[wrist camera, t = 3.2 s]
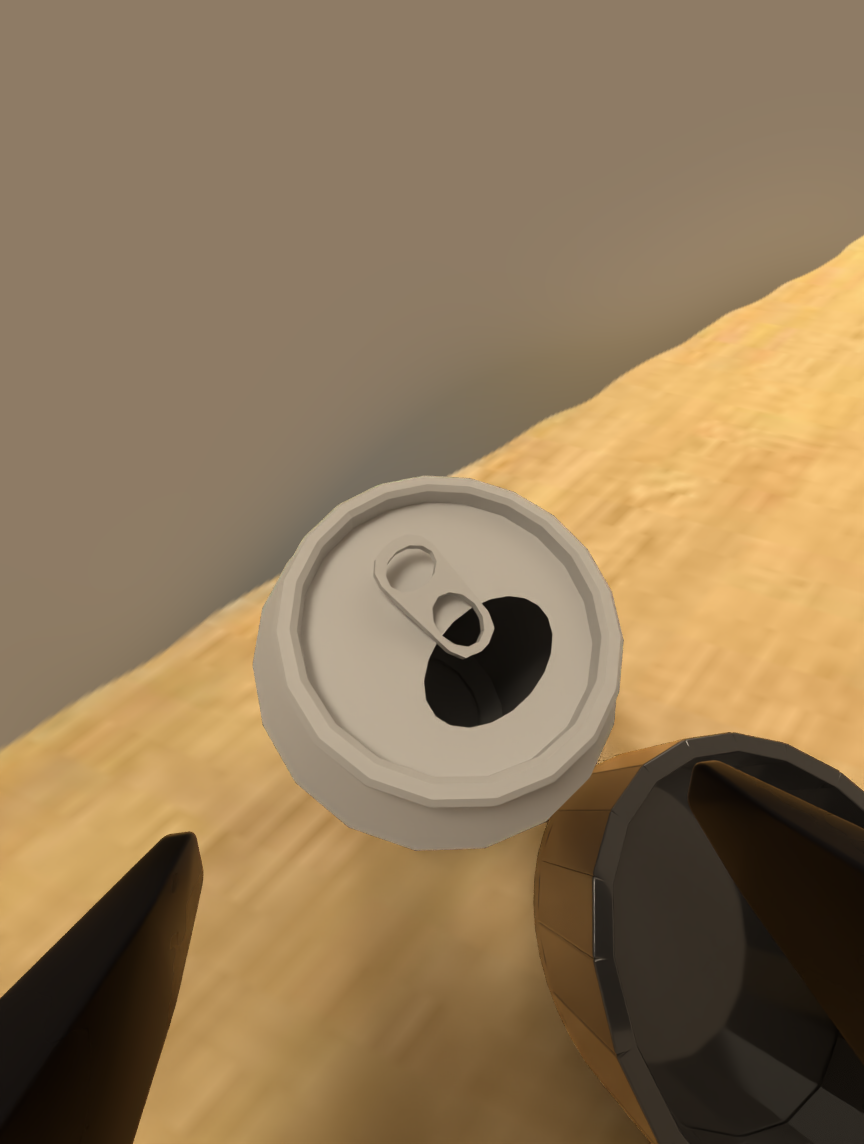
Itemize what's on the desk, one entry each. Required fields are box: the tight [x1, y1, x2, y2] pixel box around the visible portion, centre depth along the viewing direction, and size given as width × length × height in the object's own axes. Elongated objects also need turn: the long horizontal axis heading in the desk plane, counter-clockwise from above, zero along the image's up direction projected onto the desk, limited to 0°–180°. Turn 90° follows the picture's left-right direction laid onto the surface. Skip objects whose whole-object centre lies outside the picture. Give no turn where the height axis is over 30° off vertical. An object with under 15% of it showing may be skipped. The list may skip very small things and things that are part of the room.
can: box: [253, 476, 624, 851], centre depth 13 cm, size 8×8×12 cm
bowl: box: [534, 732, 864, 1144], centre depth 14 cm, size 11×11×5 cm
